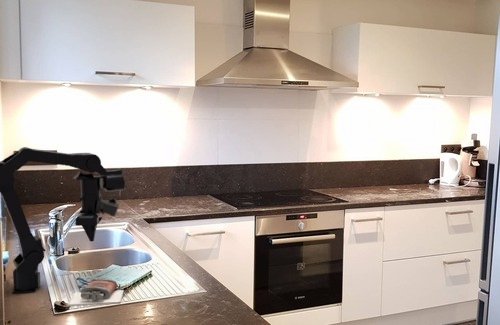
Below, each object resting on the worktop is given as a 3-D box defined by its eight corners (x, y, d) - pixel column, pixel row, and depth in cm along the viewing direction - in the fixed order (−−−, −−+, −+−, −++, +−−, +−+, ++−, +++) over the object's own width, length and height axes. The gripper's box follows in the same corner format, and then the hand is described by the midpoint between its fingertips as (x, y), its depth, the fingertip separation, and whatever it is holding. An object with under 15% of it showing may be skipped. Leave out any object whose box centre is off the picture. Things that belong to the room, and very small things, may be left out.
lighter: (117, 279, 144) (106, 292, 134) (117, 290, 144) (106, 303, 134) (90, 277, 144) (77, 289, 134) (90, 288, 144) (77, 301, 134)
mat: (67, 306, 133) (67, 304, 133) (74, 294, 142) (74, 292, 142) (120, 303, 135) (120, 301, 135) (123, 291, 144) (123, 289, 144)
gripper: (113, 197, 145) (114, 248, 147) (120, 187, 164) (121, 233, 165) (74, 198, 144) (76, 249, 145) (85, 188, 162) (87, 234, 164)
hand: (92, 241), depth 155 cm, fingers closed
